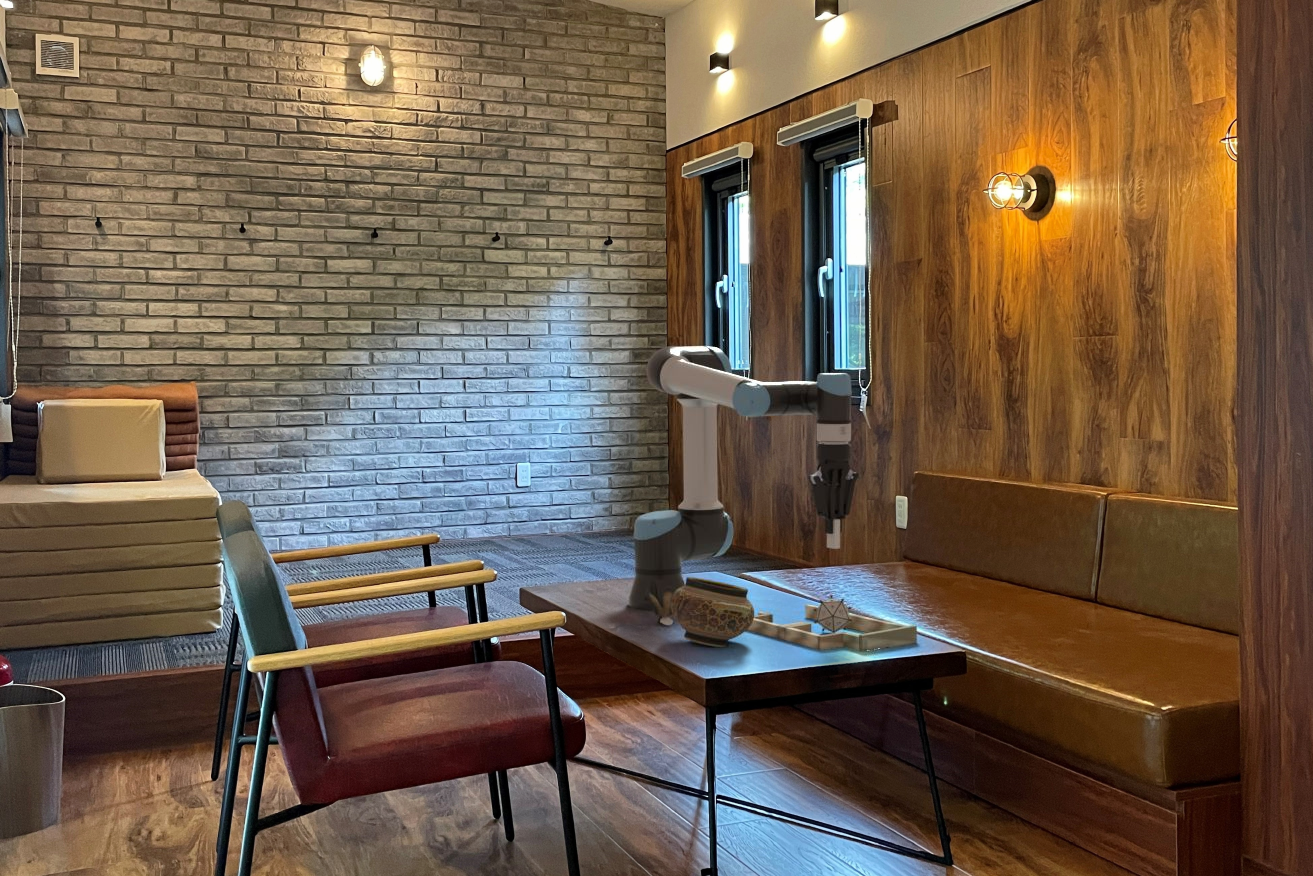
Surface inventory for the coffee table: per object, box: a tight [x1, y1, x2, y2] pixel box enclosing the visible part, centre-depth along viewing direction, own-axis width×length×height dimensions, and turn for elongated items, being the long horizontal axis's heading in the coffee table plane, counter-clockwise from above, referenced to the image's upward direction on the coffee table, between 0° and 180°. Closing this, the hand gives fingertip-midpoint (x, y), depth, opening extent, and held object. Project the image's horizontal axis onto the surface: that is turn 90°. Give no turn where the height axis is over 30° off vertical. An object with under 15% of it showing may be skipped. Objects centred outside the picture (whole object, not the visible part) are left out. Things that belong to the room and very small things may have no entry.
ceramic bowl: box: [671, 576, 755, 648], centre depth 259 cm, size 24×18×15 cm
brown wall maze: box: [746, 604, 918, 652], centre depth 268 cm, size 35×21×4 cm, turn 33°
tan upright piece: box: [646, 586, 676, 626], centre depth 281 cm, size 8×7×9 cm
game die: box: [813, 594, 852, 634], centre depth 270 cm, size 9×8×10 cm
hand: (833, 547), depth 272 cm, fingers closed
